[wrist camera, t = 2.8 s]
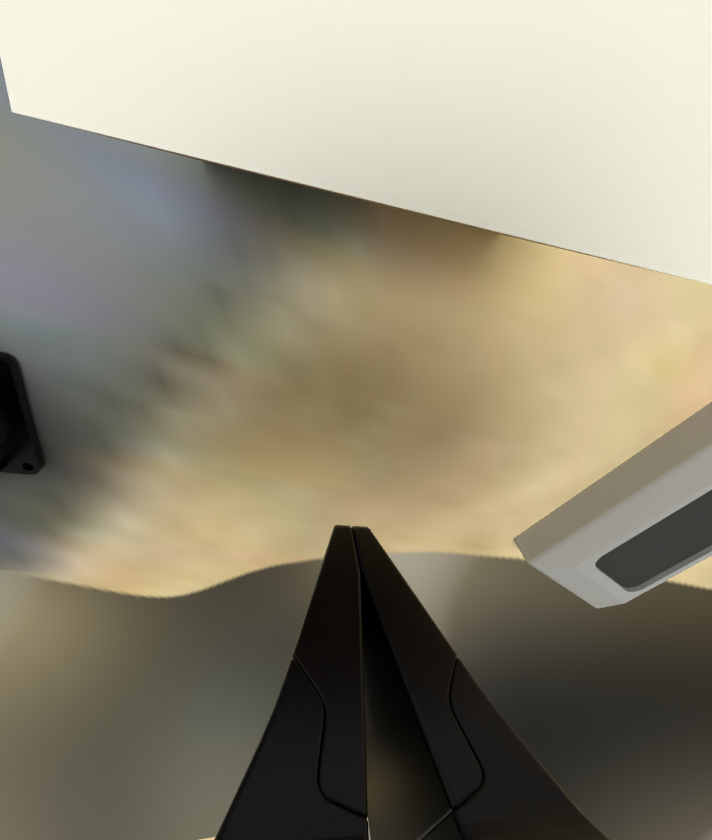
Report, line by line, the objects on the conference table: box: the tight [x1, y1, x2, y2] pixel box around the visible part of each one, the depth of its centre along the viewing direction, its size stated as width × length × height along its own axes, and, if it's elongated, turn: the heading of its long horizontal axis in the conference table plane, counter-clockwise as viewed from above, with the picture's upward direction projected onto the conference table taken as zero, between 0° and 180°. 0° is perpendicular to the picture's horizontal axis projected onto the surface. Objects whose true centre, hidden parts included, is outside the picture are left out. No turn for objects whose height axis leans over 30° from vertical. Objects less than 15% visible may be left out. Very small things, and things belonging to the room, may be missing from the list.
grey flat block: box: [514, 402, 712, 608], centre depth 25 cm, size 10×4×15 cm
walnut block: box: [0, 0, 712, 285], centre depth 9 cm, size 4×12×10 cm, turn 78°
